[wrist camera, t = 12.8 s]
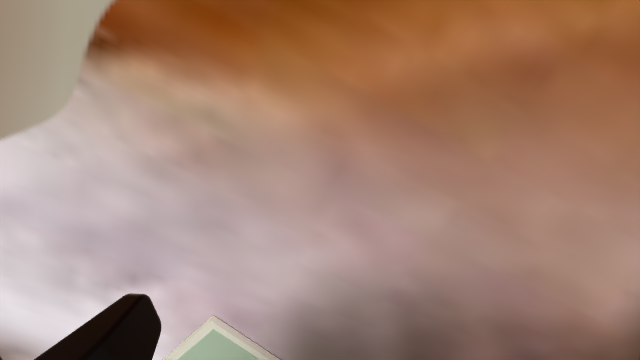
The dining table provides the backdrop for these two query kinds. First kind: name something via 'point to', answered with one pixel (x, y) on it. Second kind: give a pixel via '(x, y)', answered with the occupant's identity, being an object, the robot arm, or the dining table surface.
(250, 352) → the board
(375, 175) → the dining table surface
